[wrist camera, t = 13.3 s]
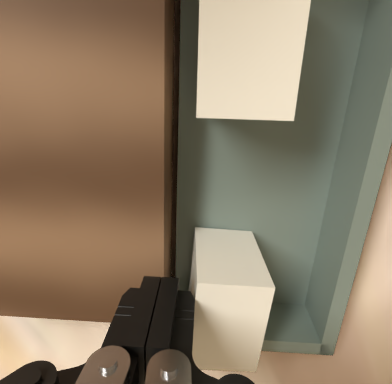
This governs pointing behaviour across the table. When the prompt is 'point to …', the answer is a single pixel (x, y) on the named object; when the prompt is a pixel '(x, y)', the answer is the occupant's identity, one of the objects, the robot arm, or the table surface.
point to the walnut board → (84, 153)
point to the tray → (295, 169)
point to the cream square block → (229, 299)
